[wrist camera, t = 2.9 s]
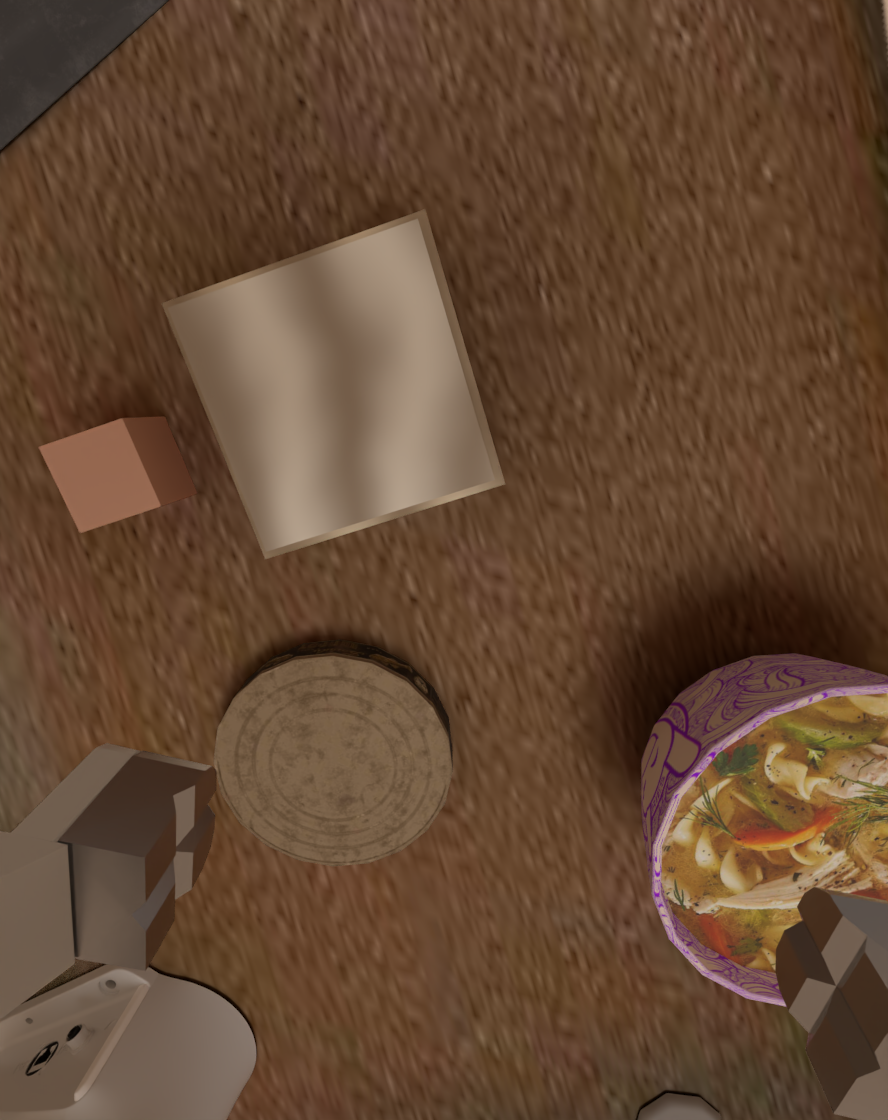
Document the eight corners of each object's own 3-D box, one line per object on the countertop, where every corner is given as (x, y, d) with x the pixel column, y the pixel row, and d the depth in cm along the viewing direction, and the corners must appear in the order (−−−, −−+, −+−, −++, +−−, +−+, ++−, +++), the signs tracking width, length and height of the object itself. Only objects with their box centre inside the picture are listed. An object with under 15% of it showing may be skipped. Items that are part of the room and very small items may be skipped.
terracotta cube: (126, 516, 38) (79, 533, 33) (92, 441, 37) (38, 447, 32) (198, 493, 38) (161, 506, 33) (165, 416, 37) (121, 418, 32)
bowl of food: (546, 694, 41) (582, 803, 30) (818, 549, 38) (970, 609, 27) (672, 899, 45) (746, 1061, 34) (925, 781, 43) (1096, 915, 31)
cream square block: (289, 538, 38) (261, 563, 33) (202, 317, 35) (153, 300, 29) (497, 473, 37) (506, 486, 31) (428, 238, 34) (424, 203, 28)
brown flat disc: (196, 669, 41) (177, 689, 38) (417, 612, 40) (414, 628, 37) (273, 856, 45) (261, 887, 42) (476, 809, 44) (478, 837, 41)
